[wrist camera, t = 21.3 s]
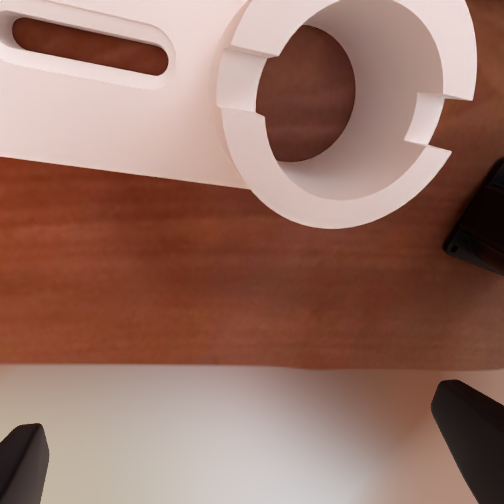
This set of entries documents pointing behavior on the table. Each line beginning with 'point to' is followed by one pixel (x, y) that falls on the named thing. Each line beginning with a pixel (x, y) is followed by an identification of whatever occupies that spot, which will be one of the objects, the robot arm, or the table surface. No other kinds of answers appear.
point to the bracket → (242, 97)
